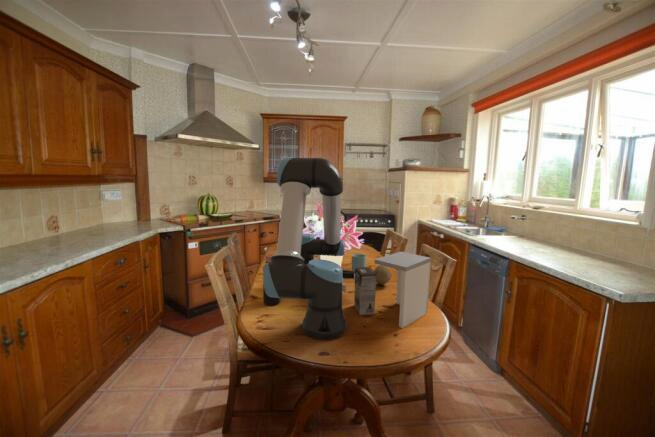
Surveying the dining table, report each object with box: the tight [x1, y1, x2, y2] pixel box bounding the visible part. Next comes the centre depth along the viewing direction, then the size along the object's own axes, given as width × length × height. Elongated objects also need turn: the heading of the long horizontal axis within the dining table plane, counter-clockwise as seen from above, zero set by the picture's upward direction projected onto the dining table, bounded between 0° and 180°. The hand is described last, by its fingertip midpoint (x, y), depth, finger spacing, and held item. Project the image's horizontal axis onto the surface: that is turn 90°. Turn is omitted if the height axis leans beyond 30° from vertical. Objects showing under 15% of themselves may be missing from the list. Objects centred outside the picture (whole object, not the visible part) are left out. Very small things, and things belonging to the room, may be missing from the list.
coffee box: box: [353, 266, 377, 316], centre depth 119 cm, size 9×6×16 cm
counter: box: [374, 251, 432, 329], centre depth 115 cm, size 18×13×22 cm
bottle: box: [262, 253, 281, 307], centre depth 123 cm, size 7×7×20 cm
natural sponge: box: [373, 264, 393, 286], centre depth 146 cm, size 9×9×10 cm
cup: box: [351, 253, 367, 271], centre depth 163 cm, size 8×8×10 cm
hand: (356, 284), depth 123 cm, fingers open, 13 cm apart
